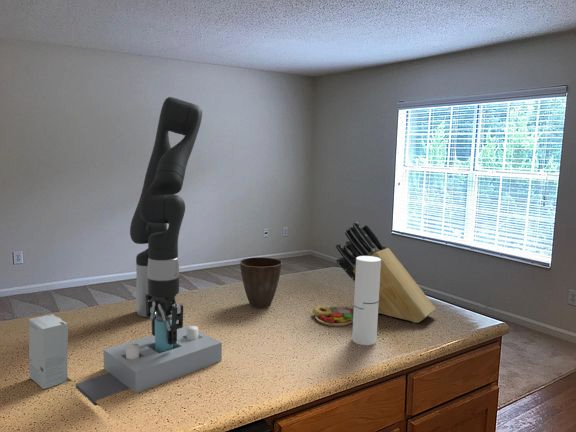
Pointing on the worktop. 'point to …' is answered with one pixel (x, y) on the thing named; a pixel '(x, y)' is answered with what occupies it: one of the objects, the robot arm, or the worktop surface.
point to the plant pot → (260, 280)
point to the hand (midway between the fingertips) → (164, 338)
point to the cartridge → (161, 335)
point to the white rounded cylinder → (132, 351)
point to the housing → (161, 360)
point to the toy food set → (333, 316)
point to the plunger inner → (192, 333)
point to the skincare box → (48, 351)
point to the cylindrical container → (366, 300)
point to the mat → (100, 387)
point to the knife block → (385, 276)
